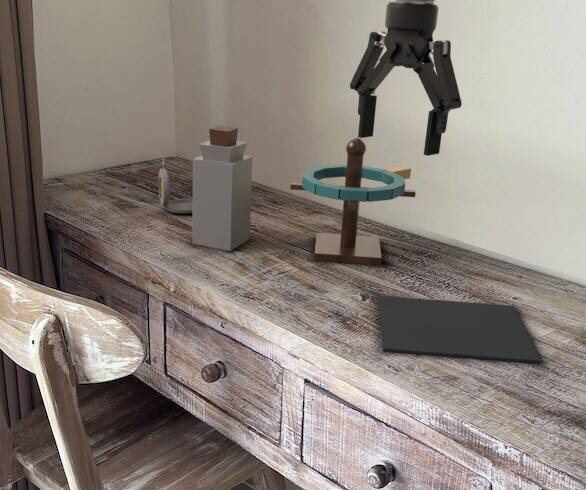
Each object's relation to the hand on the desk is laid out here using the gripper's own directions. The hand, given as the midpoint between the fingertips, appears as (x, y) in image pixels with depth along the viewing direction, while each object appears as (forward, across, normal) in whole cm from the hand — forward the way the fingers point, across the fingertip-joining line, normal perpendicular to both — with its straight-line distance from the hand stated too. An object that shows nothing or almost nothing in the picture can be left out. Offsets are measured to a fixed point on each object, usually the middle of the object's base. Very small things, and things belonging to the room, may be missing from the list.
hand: (397, 145), depth 127 cm
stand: (+16, 0, -9) cm, 18 cm away
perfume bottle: (+16, -14, -23) cm, 32 cm away
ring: (+5, 0, -8) cm, 10 cm away
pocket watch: (+16, -32, -19) cm, 41 cm away
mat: (+16, +28, -19) cm, 37 cm away
